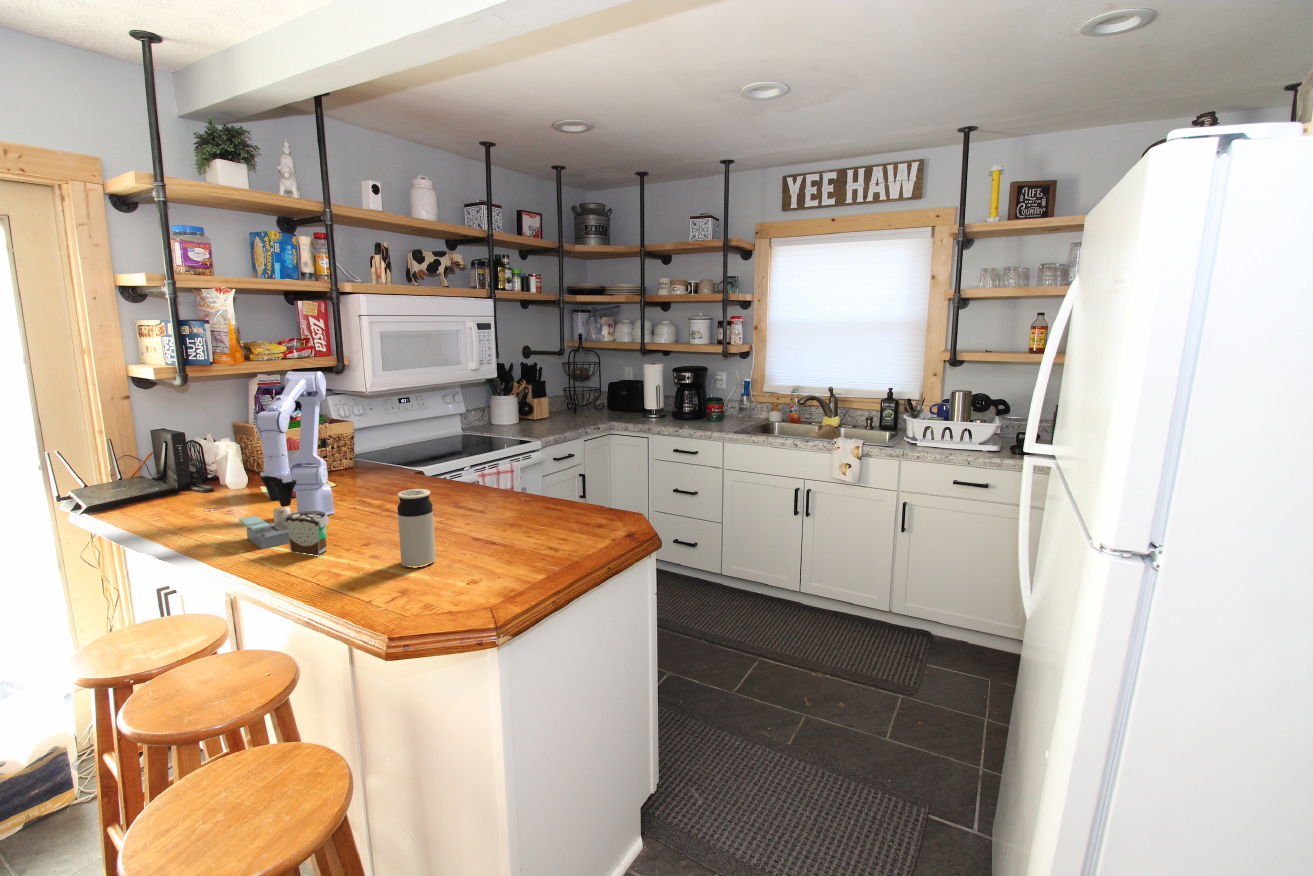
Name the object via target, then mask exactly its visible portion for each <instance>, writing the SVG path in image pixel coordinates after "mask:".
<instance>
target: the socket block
mask: <svg viewBox="0 0 1313 876" xmlns="http://www.w3.org/2000/svg"><path fill="white" fill-rule="evenodd" d="M238 521H239V522H240V523H242V524H243V525H244V526H246V527H247V528H246V536H247V538H246V539H247V540H248V541H250V542H251V543H253V544H254V545H256V546H257V547H258V546H259V547H258V548H259V549H261V550H265V549H269V547H270V548H274V547H277V546H282V545H285V544H286V545H287V544H290V543H289V538H288V532H287V529H285V530H280V531H275V524H274V522H271V523H268V522H266V521H265V520H263V519H262V518H260V517H259V516H257V515H252V516H248V517H241V518H239V519H238Z"/></svg>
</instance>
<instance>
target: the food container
mask: <svg viewBox="0 0 1313 876" xmlns="http://www.w3.org/2000/svg"><path fill="white" fill-rule="evenodd" d="M328 516H329V515H326V513H325V512H322V511H300V512H298V511H296V512H295V511H294V512H290V513H289V514H285V517H284V522H286V527H287V532H288V538H289V543H288V544H289V548H290V553H292V552H297V553H296V554H298V552H299V553H306V554H313V555H319V556H320V555H322V554H324V553H325V552H326V553H327V525H328V524H329V523H330V520H329V517H328ZM326 553H325V554H326ZM325 554H324V555H325ZM322 556H323V555H322ZM320 557H321V556H320Z"/></svg>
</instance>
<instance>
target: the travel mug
mask: <svg viewBox="0 0 1313 876" xmlns="http://www.w3.org/2000/svg"><path fill="white" fill-rule="evenodd" d="M430 494H431V491H430V490H429V489H425V488H424V489H423V488H414V489H406V490H403V491H400V492H398V493H397V497H398V499H399V503H398V505H397V523H398V533H399V534H398V535H399V549H400V563H401V566H402V565H404V566H411V567H412V566H421V565H425V564H428V563H431V562H433V561H434V560H435V559H436V558H437V557H436V545H435V527H434V526H435V525H434V513H433V510H434V509H433V503H432V501H431V500H430V496H431V495H430ZM404 566H403V567H404Z"/></svg>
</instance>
